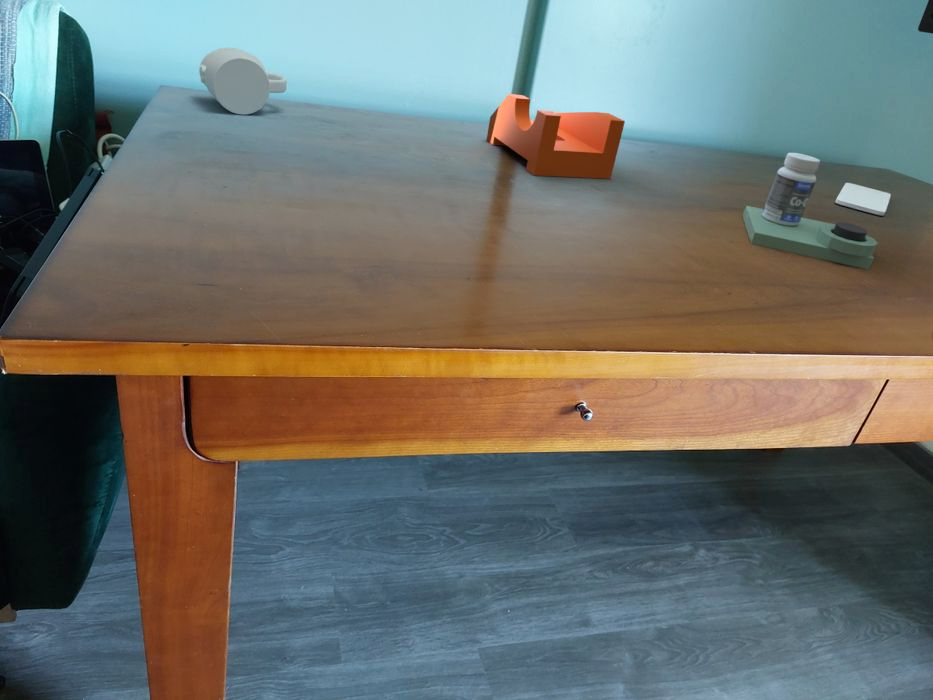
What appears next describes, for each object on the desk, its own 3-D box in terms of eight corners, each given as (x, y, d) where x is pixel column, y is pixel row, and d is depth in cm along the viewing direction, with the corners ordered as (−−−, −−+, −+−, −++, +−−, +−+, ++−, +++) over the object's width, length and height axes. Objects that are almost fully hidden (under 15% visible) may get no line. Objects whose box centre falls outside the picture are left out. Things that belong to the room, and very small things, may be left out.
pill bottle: (785, 228, 92) (810, 163, 88) (754, 215, 95) (777, 151, 91) (805, 225, 95) (830, 161, 91) (774, 212, 98) (797, 150, 94)
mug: (208, 113, 105) (206, 54, 102) (200, 98, 113) (198, 42, 109) (291, 117, 110) (293, 62, 107) (278, 102, 118) (279, 50, 114)
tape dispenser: (610, 178, 107) (624, 121, 103) (533, 175, 102) (545, 114, 98) (556, 144, 121) (566, 92, 117) (486, 140, 117) (495, 86, 113)
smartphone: (835, 199, 114) (845, 182, 126) (833, 203, 114) (844, 186, 126) (885, 212, 111) (891, 193, 123) (883, 217, 111) (889, 198, 123)
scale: (849, 239, 98) (858, 218, 97) (872, 273, 87) (883, 249, 86) (742, 216, 100) (749, 195, 99) (751, 246, 89) (759, 223, 88)
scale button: (859, 236, 90) (863, 226, 90) (866, 245, 87) (870, 235, 87) (829, 230, 91) (833, 219, 90) (835, 239, 88) (839, 228, 87)
